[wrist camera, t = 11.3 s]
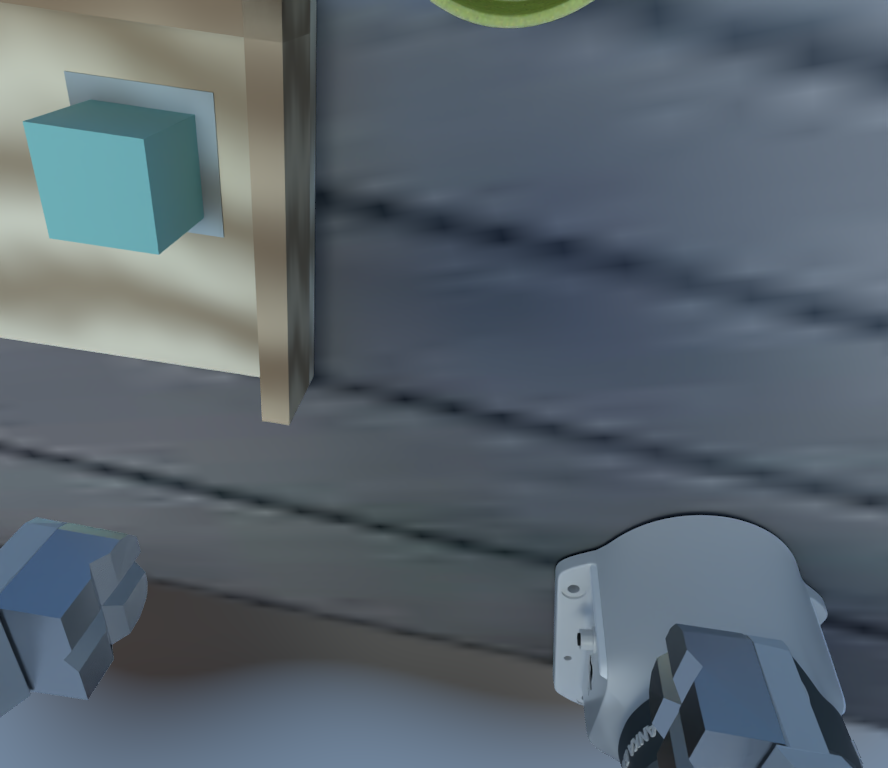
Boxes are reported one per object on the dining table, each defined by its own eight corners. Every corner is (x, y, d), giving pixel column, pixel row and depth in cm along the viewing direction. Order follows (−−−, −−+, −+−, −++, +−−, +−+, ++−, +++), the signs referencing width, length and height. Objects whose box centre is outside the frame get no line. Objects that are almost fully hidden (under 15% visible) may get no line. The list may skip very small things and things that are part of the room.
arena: (313, 375, 39) (289, 425, 35) (-10, 326, 40) (-73, 369, 35) (316, -8, 28) (281, -3, 24) (-133, -73, 28) (-245, -78, 24)
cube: (194, 114, 30) (143, 139, 26) (204, 217, 33) (159, 254, 29) (90, 99, 30) (22, 121, 26) (108, 203, 33) (49, 238, 29)
